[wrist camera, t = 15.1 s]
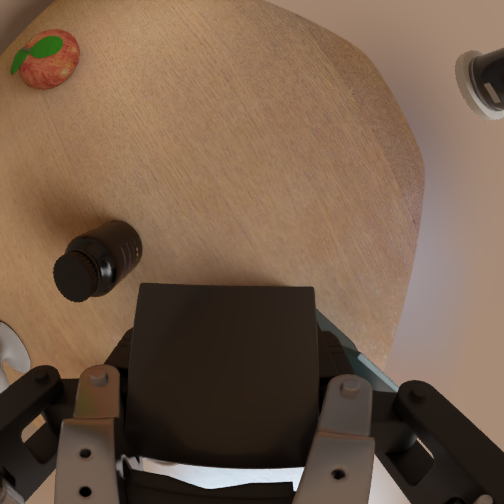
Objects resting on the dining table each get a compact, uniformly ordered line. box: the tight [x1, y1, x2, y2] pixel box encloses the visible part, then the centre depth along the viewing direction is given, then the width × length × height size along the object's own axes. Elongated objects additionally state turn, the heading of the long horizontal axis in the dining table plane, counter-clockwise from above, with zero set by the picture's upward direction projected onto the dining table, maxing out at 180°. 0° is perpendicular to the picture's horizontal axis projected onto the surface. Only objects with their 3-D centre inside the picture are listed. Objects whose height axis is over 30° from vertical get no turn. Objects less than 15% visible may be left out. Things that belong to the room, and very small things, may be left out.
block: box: [125, 283, 320, 469], centre depth 11 cm, size 5×5×9 cm
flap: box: [342, 345, 399, 393], centre depth 22 cm, size 7×13×1 cm
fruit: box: [11, 29, 80, 90], centre depth 22 cm, size 9×10×10 cm
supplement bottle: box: [53, 221, 142, 302], centre depth 28 cm, size 7×7×12 cm
